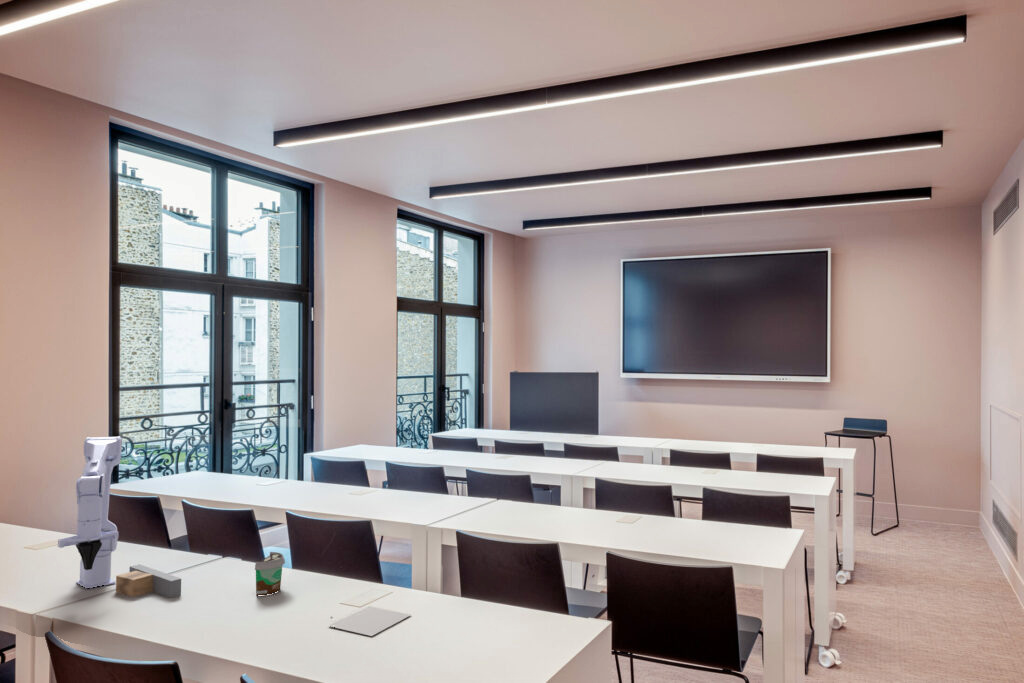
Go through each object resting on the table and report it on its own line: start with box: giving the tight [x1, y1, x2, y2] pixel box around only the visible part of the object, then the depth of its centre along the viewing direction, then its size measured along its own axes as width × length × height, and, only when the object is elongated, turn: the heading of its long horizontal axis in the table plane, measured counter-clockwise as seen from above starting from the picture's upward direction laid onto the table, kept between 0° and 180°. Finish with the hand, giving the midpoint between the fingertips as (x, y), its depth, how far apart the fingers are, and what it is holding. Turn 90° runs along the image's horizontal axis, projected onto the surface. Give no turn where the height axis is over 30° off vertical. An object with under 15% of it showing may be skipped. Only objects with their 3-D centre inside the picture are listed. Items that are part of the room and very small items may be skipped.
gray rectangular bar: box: [128, 563, 182, 599], centre depth 206 cm, size 24×3×5 cm, turn 54°
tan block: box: [115, 571, 153, 598], centre depth 203 cm, size 8×6×5 cm
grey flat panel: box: [329, 605, 411, 637], centre depth 187 cm, size 23×25×1 cm
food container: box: [254, 551, 286, 596], centre depth 205 cm, size 12×6×10 cm, turn 179°
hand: (87, 569), depth 193 cm, fingers closed
